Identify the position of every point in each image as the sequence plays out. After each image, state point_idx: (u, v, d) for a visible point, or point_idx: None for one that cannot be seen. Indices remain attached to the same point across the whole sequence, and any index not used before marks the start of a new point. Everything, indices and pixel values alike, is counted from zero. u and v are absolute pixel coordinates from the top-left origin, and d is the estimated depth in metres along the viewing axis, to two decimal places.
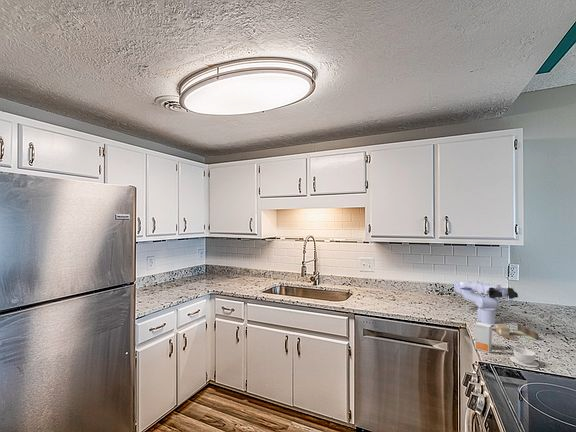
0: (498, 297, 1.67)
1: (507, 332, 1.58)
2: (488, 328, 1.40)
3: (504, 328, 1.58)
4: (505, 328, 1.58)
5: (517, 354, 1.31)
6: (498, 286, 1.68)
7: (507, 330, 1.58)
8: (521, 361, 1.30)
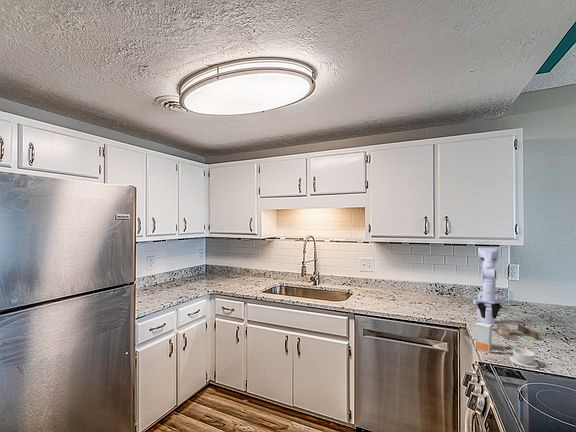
0: None
1: (507, 332, 1.58)
2: (488, 328, 1.40)
3: (504, 328, 1.58)
4: (505, 328, 1.58)
5: (517, 354, 1.31)
6: (492, 303, 1.57)
7: (507, 330, 1.58)
8: (521, 361, 1.30)
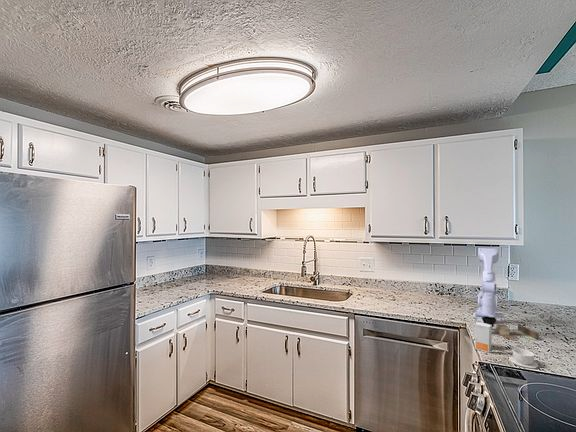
0: None
1: (507, 332, 1.58)
2: (488, 328, 1.40)
3: (504, 328, 1.58)
4: (505, 328, 1.58)
5: (516, 355, 1.30)
6: (491, 316, 1.57)
7: (507, 330, 1.58)
8: (520, 362, 1.30)
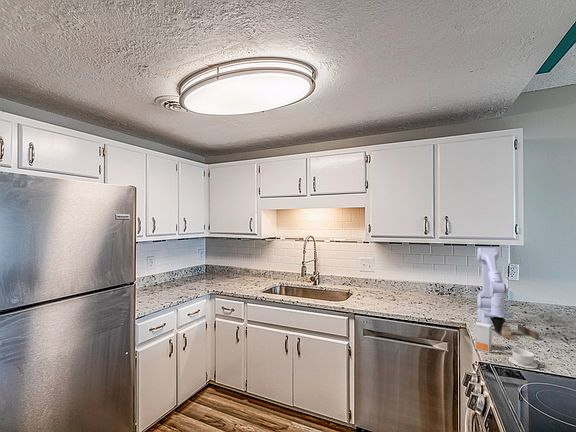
0: None
1: (509, 332, 1.58)
2: (488, 328, 1.40)
3: (506, 328, 1.58)
4: (507, 328, 1.58)
5: (516, 355, 1.30)
6: (501, 317, 1.57)
7: (509, 330, 1.58)
8: (520, 362, 1.29)
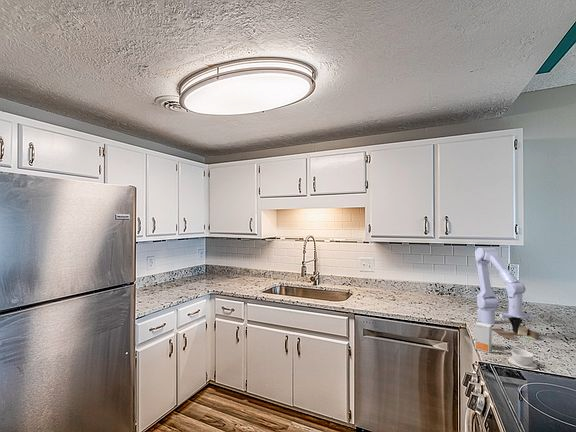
0: None
1: (526, 332, 1.57)
2: (488, 328, 1.40)
3: (522, 328, 1.57)
4: (523, 328, 1.57)
5: (515, 355, 1.30)
6: (519, 317, 1.56)
7: (525, 331, 1.57)
8: (519, 362, 1.29)
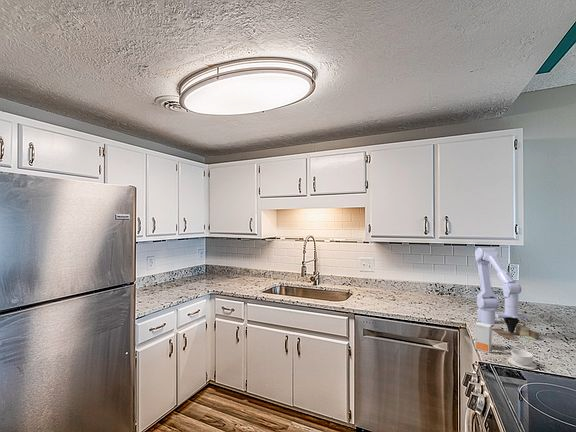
0: None
1: (528, 332, 1.57)
2: (488, 328, 1.40)
3: (524, 329, 1.58)
4: (525, 329, 1.58)
5: (514, 356, 1.29)
6: (515, 317, 1.57)
7: (527, 331, 1.57)
8: (519, 363, 1.29)
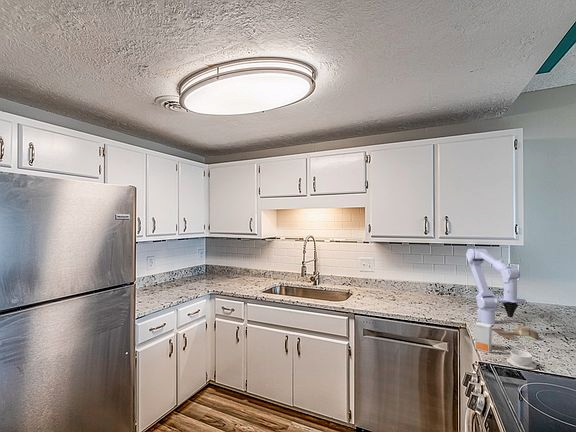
0: None
1: (528, 332, 1.57)
2: (488, 328, 1.40)
3: (524, 329, 1.58)
4: (525, 329, 1.58)
5: (514, 356, 1.29)
6: None
7: (527, 331, 1.57)
8: (518, 363, 1.29)
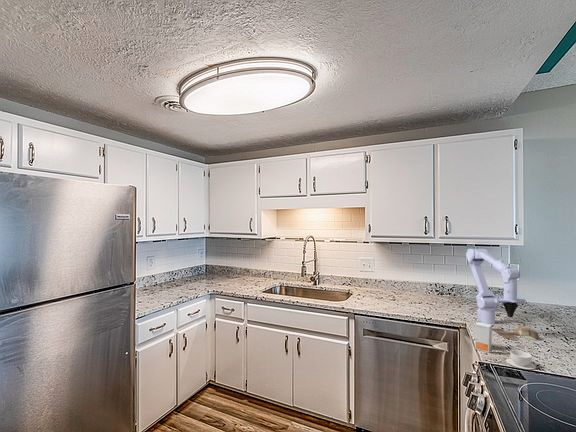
0: None
1: (528, 332, 1.57)
2: (488, 328, 1.40)
3: (524, 329, 1.58)
4: (525, 329, 1.58)
5: (513, 356, 1.29)
6: None
7: (527, 331, 1.57)
8: (517, 363, 1.28)
